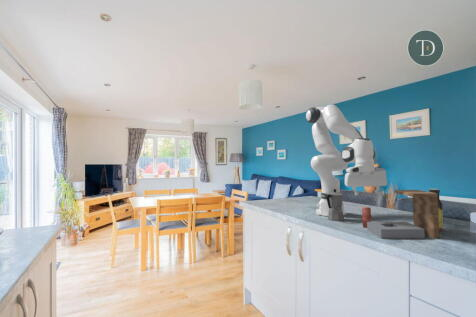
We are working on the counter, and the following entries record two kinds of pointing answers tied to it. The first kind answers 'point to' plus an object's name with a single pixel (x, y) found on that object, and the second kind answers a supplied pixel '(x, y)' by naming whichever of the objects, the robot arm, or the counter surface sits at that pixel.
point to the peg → (366, 216)
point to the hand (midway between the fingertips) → (366, 195)
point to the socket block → (395, 229)
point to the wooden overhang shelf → (424, 210)
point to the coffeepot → (335, 206)
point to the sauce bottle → (439, 208)
